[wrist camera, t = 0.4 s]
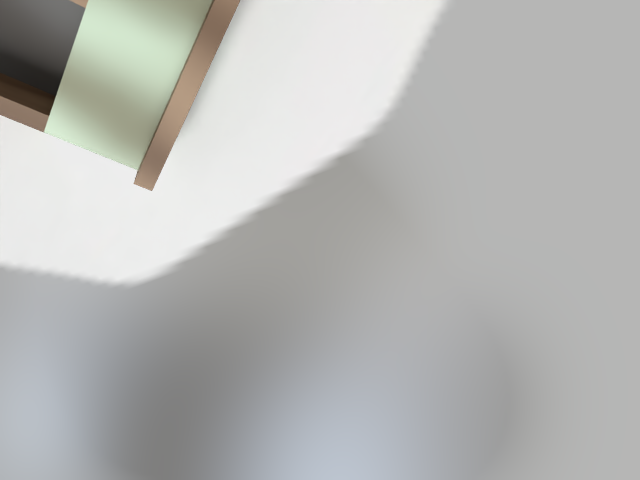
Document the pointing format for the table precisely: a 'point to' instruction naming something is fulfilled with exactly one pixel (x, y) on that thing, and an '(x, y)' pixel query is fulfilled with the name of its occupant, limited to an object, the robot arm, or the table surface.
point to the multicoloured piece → (109, 71)
